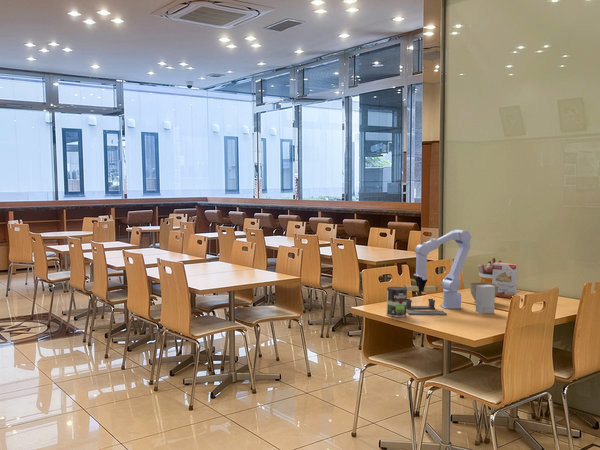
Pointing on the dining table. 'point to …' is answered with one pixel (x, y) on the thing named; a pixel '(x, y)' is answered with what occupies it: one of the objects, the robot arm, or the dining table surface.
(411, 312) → the mat
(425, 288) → the rail
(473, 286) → the planter bowl
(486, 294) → the skincare box
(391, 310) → the coffee can
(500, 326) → the dining table surface
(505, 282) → the cracker box
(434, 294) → the dining table surface
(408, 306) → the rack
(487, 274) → the bucket of meat
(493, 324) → the dining table surface
